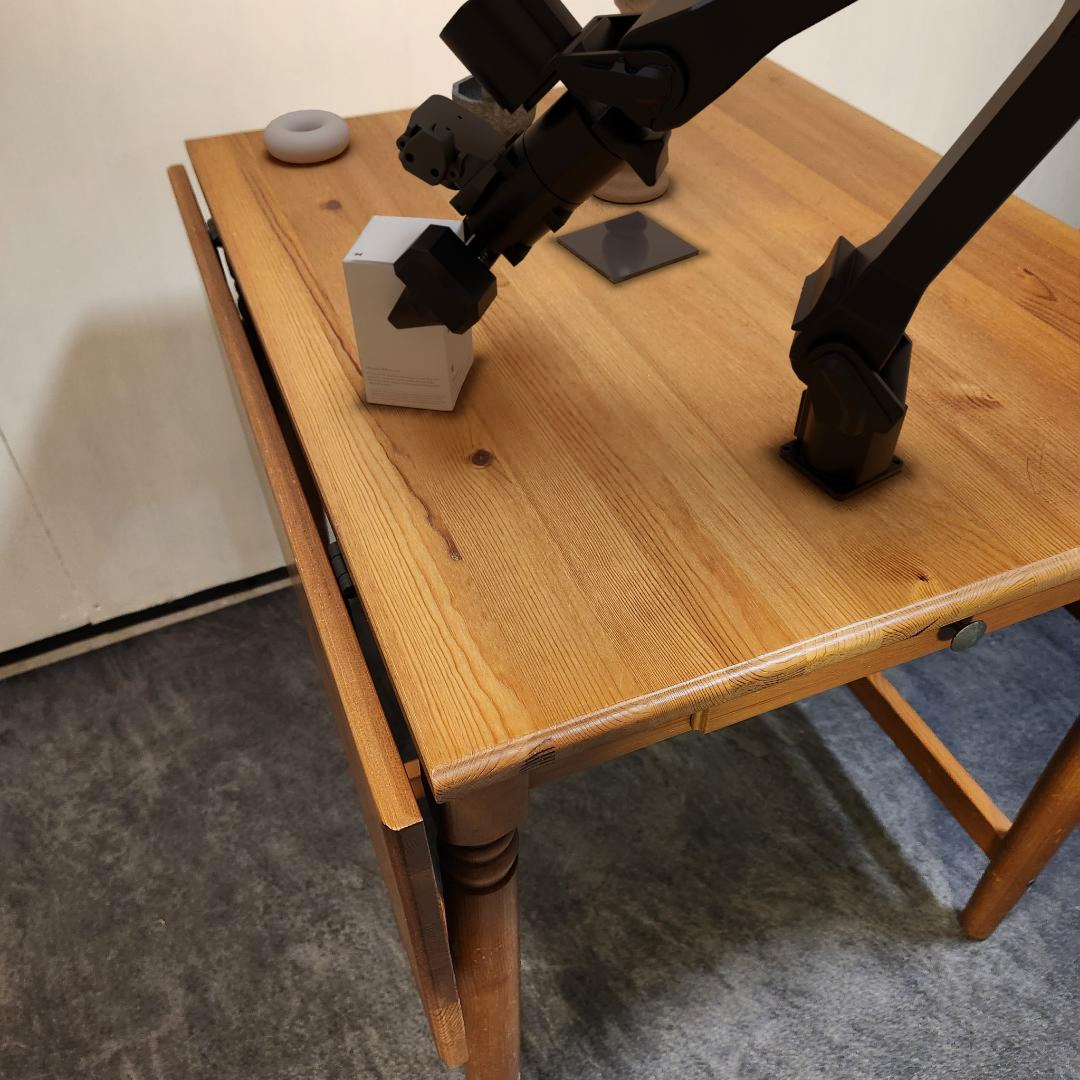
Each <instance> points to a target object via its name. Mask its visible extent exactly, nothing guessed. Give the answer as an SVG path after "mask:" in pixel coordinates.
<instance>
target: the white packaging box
mask: <svg viewBox="0 0 1080 1080" xmlns="http://www.w3.org/2000/svg"><path fill="white" fill-rule="evenodd" d="M430 224H435V225H442V226H449V227H450V228H451V229H452V230H453V231H454V232H455V233H456V235H457V236H458V237H459V238H460V239H461V240H462V241H463V242H464V231H463V220H457V219H456V220H455V219H443V218H430V217H429V218H428V217H413V216H412V217H411V216H396V215H395V216H392V215H377V214H375V215H372V216H371V217H370V219H369V220H368V222H367V224H366V225H365V227H364V228H363V229H362V231H361V232H360V234H359V236H358V237H357V238H356V239H355V241H354V242H353V244H352V245H351V247H350V249H349V250H348V251H347V253H346V254H345V256H344V257H343V258H342V260H341V264H342V270H343V275H344V280H345V286H346V292H347V296H348V297H347V298H348V302H349V308H350V314H351V319H352V325H353V332H354V337H355V342H356V346H357V352H358V353H357V354H358V358H359V364H360V369H361V375H362V381H363V386H364V391H365V396H366V402H367V403H370V404H378V405H386V406H397V407H403V408H404V407H405V408H412V409H423V410H424V409H425V410H434V411H435V410H436V411H443V412H446V411H447V412H452V411H453V410H454V408H455V405H456V402H457V400H458V397H459V394H460V392H461V389H462V387H463V384H464V382H465V380H466V378H467V376H468V374H469V371H470V369H471V367H472V365H473V364H474V361H475V356H474V343H473V342H474V341H473V328H472V327H473V326H472V327H471V328H470V329H469V330H467V331H466V332H465V333H464V334H463V335H459V334H454V333H452V332H451V331H450V330H449V329H448V328H447V327H446V326H426V327H417V328H408V329H396V328H395V327H394V326H393V325H392V324H391V323H390V322H389V321H388V320H387V318H388V316H389V314H390V312H391V311H392V309H393V307H394V305H395V304H396V302H397V300H398V299H399V297H400V295H401V293H402V292H403V290H404V288H405V286H406V285H405V284H404V283H403V282H402V281H401V280H400V279H399V278H398V277H397V276H396V275H395V272H394V267H393V263H394V262H395V261H396V260H397V259H398V258H399V256H400V255H401V254H402V253H403V252H404V251H405V250H406V249H407V248H408V246H409V245H410V244H411V243H412V242H413V241H414V240H415V239H416V238H417V237H418V236H419V235H420V234H421V233H422V232H423V231H424V230H425V229H426V228H427V227H428V226H429V225H430ZM464 243H465V242H464Z"/></svg>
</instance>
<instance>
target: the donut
mask: <svg viewBox="0 0 1080 1080" xmlns="http://www.w3.org/2000/svg"><path fill="white" fill-rule="evenodd" d="M262 138H263V139H262V140H263V145H264V147H265V148H266V150H267V151H268V152H269V153H270V155H271V156H272V157H274V158H276V159H278V160H280V161H282V162H285V163H292V164H313V163H319V162H324V161H327V160H329V159H332V158H335V157H337V156H338V155H340V154H341V153H342V152H344V151H345V150H346V148H347V147H348V146H349V144H350V141H351V131H350V127H349V125H348V123H347V122H346V121H345V119H344V118H343V117H342V116H340V115H338V114H337V113H334V112H332V111H329V110H322V109H299V110H294V111H289V112H286V113H283V114H281V115H279V116H277V117H276V118H274V119H272V120H270V122H269V123H268V124H267V125H266V126H265V128H264V131H263V137H262Z"/></svg>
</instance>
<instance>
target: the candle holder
mask: <svg viewBox="0 0 1080 1080" xmlns="http://www.w3.org/2000/svg"><path fill="white" fill-rule="evenodd" d="M655 1H657V0H613V4H614V5H615V7H616V8H617V9H618V11H619V14H623V13H637V12H645V11H646V10H647V9H648V8H649V7H650V6H651V5H652V4H653V3H654V2H655ZM669 182H670V176H669V174H668V173H667V171H666V170H665V169H664V171H663V172H662V174H661V176H660V178H659V179H658V181H657V183H656V184H655V185H654V186H653V187H648V186H646V185H645V184H644V182H643V181H642V180H641V179H640V178H639V176H638V175H637V174H636V173H635V172H634V170H633V169H632V168H631V167H630V165H629V164H628V165H627V166H625V167H624V168H623V169H622V170H621V171H619V172H618V173H617V174H616V175H615V176H614V177H612V178H611V179H610V180H609V181H608V182H607V183H605V184H604V185H603V186H602V187H601V188H600V189H598V190H597V191H596V192H595V193H594V194H593V195H594V196H595V197H598V198H599V199H602V200H605V201H609V202H613V203H622V204H634V203H643V202H649V201H651V200H654V199H657V198H658V197H660V196H662V195H663V194H665V193H666V192H667V190H668V189H669Z"/></svg>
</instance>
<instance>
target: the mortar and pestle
mask: <svg viewBox="0 0 1080 1080" xmlns="http://www.w3.org/2000/svg"><path fill="white" fill-rule="evenodd" d="M451 100H453V101H454V102H456V103H458V104H459V105H461V106H463V107H464V108H466V109H468V110H469V111H471V112H472V113H474V114H476V115H477V116H479V117H481V118H482V119H484V120H485V121H487V122H488V123H490V124H491V125H492V126H493V128H494V129H495V130H497V131H498V132H500V133H501V134H503V135H504V136H505V137H507V138H508V137H511V136H512V135H513V134H514V133H515V132H516V131H517V130H518V129H519V128H520V127H522V128H523V129H524V130H525V129H526V128H527V127H528V126H531V125H532V124H533V123H534V122H535V118H536V115H537V107H538V103H537V104H536V105H535V106H534V107H533V108H532V109H531V110H530V111H529V112H528V113H526V111H525V110H524V109H523V108H522V106H523V105H521V106H520V107H519V108H518V109H517V110H516V111H515V112H514V113H513V114H512V115H511V114H510V113H509V112H508V111H507V110H506V109H505V110H504V111H503V110H502V109H501V108H500V107H499V106H498V104H497V103H496V102H495V101H494V100H493V99H492V98H491V96H490V95H489V94H488V93H487V92H486V91H485V89H484V88H483V87H482V86H481V85H480V84H479V82H478V81H477V80H476V79H475V78H474V77H473V75H472V74H469V75H467V76H465V77H463V78H461V79H459V80H457V81H455V82H453V83H452V88H451Z"/></svg>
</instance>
